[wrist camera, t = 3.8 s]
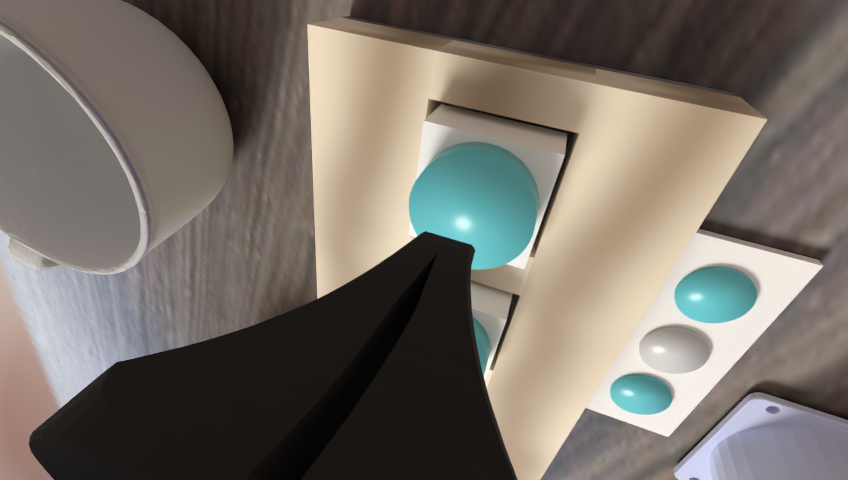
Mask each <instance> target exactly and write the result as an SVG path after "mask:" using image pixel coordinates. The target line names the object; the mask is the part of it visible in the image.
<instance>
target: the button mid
mask: <svg viewBox="0 0 848 480" xmlns="http://www.w3.org/2000/svg"><path fill="white" fill-rule="evenodd" d="M512 294H513V293H510V292H507V291H503V290H500V289H497V288H494V287H491V286H487V285H484V284H481V283H478V282H475V281H472V280H471V303H472V315H473V323H474V330H475V337H476V343H477V349H478V354H479V359H480V363H481V368H482V372H483V376H484V380H486V377H487V374H488V371H489V369H490V366H491V363H492V360H493V357H494V354H495V352H496V349H497V346H498V343H499V340H500V337H501V335H502V332H503V329H504V326H505V323H506V320H507V316H508V312H509V307H510V303H511V299H512Z"/></svg>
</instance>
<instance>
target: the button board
mask: <svg viewBox="0 0 848 480" xmlns="http://www.w3.org/2000/svg"><path fill="white" fill-rule="evenodd" d="M307 25H308V52H309V80H310V107H311V134H312V161H313V189H314V216H315V243H316V271H317V298H320V297H322V296H324V295H326V294H328V293H330V292H332V291H334V290H336V289H337V288H339V287H341V286H343V285H344V284H346V283H348V282H350V281H351V280H353V279H355V278H356V277H358V276H360V275H362V274H363V273H365V272H367V271H368V270H370V269H371V268H373V267H374V266H376V265H377V264H379V263H380V262H382V261H383V260H385V259H386V258H388V257H389V256H391V255H392V254H394V253H395V252H396V251H398V250H399V249H401V248H402V247H403V246H405V245H406V244H407V243H409V242H410V241H411V240H413V239H414V238H415V236H411V235H409V230H410V222H411V220H410V215H409V197H410V193H411V190H412V187H413V185H414V183H415V181H416V175H417V167H418V160H419V152H420V144H421V136H422V128H423V121H424V120H425V119H426V118H427V117H428V116H429V115H430V114H431V113H432V112H433V111H435V110H436V109H437V108H438V107H439V106H440V105H441V104H443V105H448V106H452V107H456V108H460V109H465V110H469V111H473V112H478V113H482V114H486V115H491V116H495V117H499V118H504V119H508V120H512V121H516V122H521V123H525V124H529V125H534V126H538V127H542V128H547V129H551V130H555V131H560V132H564V133H567V141H566V150H565V156H564V159H563V162H562V165H561V167H560V170H559V173H558V176H557V179H556V182H555V184H554V187H553V190H552V193H551V196H550V199H549V201H548V204H547V207H546V210H545V213H544V216H543V218H542V221H541V224H540V227H539V230H538V233H537V235H536V238H535V241H534V244H533V247H532V250H531V252H530V255H529V258H528V261H527V264H526V267H525V269H521V268H518V267H514V266H511V265H508V264H505V265H502V266H499V267H496V268H491V269H482V270H477V269H471V280H472V281H475V282H478V283H481V284H484V285H487V286H491V287H494V288H497V289H500V290H503V291H507V292H510V293H513V294H512V299H511V303H510V307H509V312H508V316H507V320H506V323H505V326H504V329H503V332H502V335H501V337H500V340H499V343H498V346H497V349H496V352H495V354H494V357H493V360H492V363H491V366H490V369H489V371H488V374H487V377H486V380H485V384H486V388H487V391H488V395H489V399H490V402H491V405H492V408H493V411H494V414H495V417H496V420H497V423H498V426H499V430H500V433H501V436H502V439H503V442H504V445H505V447H506V450H507V453H508V455H509V458H510V461H511V463H512V466H513V469H514V471H515V474H516V476H517V479H518V480H540V479H541V477H542V476H543V474H544V473H545V471H546V469H547V468H548V466H549V465H550V463H551V462H552V460H553V458H554V457H555V455H556V454H557V452H558V450H559V449H560V447H561V446H562V444H563V443H564V441H565V439H566V438H567V436H568V435H569V433H570V431H571V430H572V428H573V427H574V425H575V424H576V422H577V420H578V419H579V417H580V416H581V414H582V412H583V411H584V409H585V408H586V406H587V404H588V403H589V401H590V400H591V398H592V397H593V395H594V393H595V392H596V390H597V389H598V387H599V385H600V384H601V382H602V381H603V379H604V378H605V376H606V374H607V373H608V371H609V370H610V368H611V366H612V365H613V363H614V362H615V360H616V359H617V357H618V355H619V354H620V352H621V351H622V349H623V347H624V346H625V344H626V343H627V341H628V340H629V338H630V336H631V335H632V333H633V332H634V330H635V328H636V327H637V325H638V324H639V322H640V321H641V319H642V317H643V316H644V314H645V313H646V311H647V309H648V308H649V306H650V305H651V303H652V301H653V300H654V298H655V297H656V295H657V294H658V292H659V290H660V289H661V287H662V286H663V284H664V282H665V281H666V279H667V278H668V276H669V275H670V273H671V271H672V270H673V268H674V267H675V265H676V263H677V262H678V260H679V259H680V257H681V256H682V254H683V252H684V251H685V249H686V248H687V246H688V244H689V243H690V241H691V240H692V238H693V237H694V235H695V233H696V232H697V230H698V229H699V227H700V225H701V224H702V222H703V221H704V219H705V217H706V216H707V214H708V213H709V211H710V210H711V208H712V206H713V205H714V203H715V202H716V200H717V198H718V197H719V195H720V194H721V192H722V191H723V189H724V187H725V186H726V184H727V183H728V181H729V179H730V178H731V176H732V175H733V173H734V172H735V170H736V168H737V167H738V165H739V164H740V162H741V160H742V159H743V157H744V156H745V154H746V153H747V151H748V149H749V148H750V146H751V145H752V143H753V141H754V140H755V138H756V137H757V135H758V133H759V132H760V130H761V129H762V127H763V126H764V124H765V122H766V121H767V119H766V118H765V117H764V116H763V115H761V114H760V113H759V112H758V111H757V110H755V109H754V108H753V107H752V106H751V105H749V104H748V103H747V102H746V101H744V100H743V99H742V98H741V97H740V96H738V95H737V94H736V93H733V92H728V91H723V90H718V89H713V88H708V87H703V86H698V85H693V84H688V83H683V82H678V81H673V80H668V79H663V78H658V77H653V76H648V75H643V74H638V73H633V72H628V71H622V70H617V69H612V68H607V67H602V66H597V65H592V64H587V63H582V62H577V61H572V60H567V59H562V58H557V57H552V56H547V55H542V54H537V53H532V52H527V51H522V50H517V49H512V48H507V47H502V46H497V45H492V44H487V43H481V42H476V41H471V40H466V39H461V38H456V37H451V36H446V35H441V34H436V33H431V32H426V31H421V30H416V29H411V28H406V27H401V26H396V25H391V24H386V23H381V22H376V21H371V20H366V19H361V18H356V17H351V16H347V17H342V18H337V19H332V20H327V21H321V22H316V23H311V24H307Z"/></svg>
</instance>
